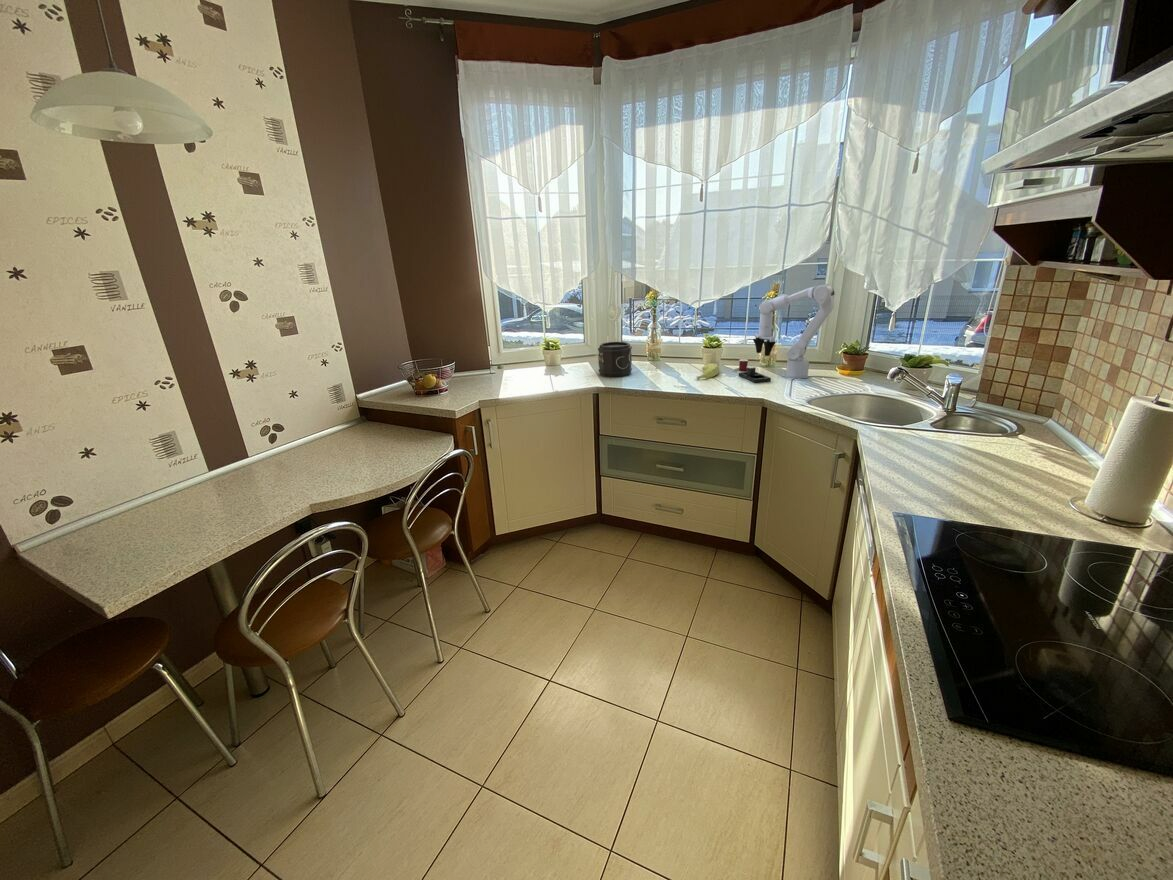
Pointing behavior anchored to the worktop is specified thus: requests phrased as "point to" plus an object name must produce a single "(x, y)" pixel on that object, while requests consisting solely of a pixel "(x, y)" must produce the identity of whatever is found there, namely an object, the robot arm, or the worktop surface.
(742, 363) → the pod
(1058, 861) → the worktop surface
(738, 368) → the coaster
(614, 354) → the dark cylindrical canister
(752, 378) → the rack
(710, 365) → the pale green gourd
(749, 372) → the pod
